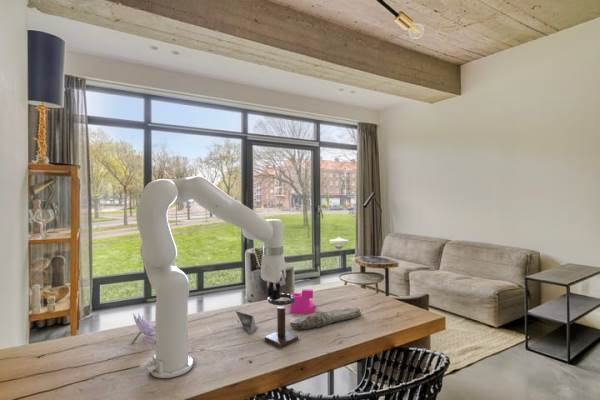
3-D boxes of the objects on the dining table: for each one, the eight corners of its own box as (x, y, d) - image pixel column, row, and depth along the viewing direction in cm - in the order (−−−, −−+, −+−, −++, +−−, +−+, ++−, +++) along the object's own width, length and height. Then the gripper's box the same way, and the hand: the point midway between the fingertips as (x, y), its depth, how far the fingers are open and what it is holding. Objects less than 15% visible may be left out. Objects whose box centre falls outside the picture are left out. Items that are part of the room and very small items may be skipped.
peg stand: (280, 348, 114) (280, 313, 114) (264, 340, 121) (264, 307, 120) (298, 340, 121) (298, 307, 121) (282, 333, 127) (281, 301, 127)
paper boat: (265, 326, 131) (250, 327, 124) (256, 337, 132) (241, 340, 124) (249, 305, 138) (234, 305, 131) (241, 316, 139) (226, 317, 131)
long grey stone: (366, 320, 142) (352, 314, 151) (366, 308, 142) (352, 303, 151) (296, 332, 126) (285, 325, 134) (297, 319, 126) (286, 312, 135)
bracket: (313, 313, 149) (312, 291, 148) (290, 313, 149) (290, 291, 149) (312, 304, 161) (312, 283, 160) (291, 304, 161) (291, 284, 161)
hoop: (280, 308, 113) (280, 303, 113) (262, 301, 121) (262, 297, 121) (300, 301, 121) (300, 296, 121) (282, 295, 128) (282, 291, 128)
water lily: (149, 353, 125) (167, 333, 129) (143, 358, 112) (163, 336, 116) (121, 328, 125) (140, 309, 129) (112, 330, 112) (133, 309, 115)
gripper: (253, 250, 126) (253, 296, 126) (280, 255, 115) (280, 306, 115) (267, 247, 131) (268, 292, 132) (294, 252, 120) (295, 300, 121)
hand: (274, 298), depth 124 cm, fingers closed on hoop, 2 cm apart
